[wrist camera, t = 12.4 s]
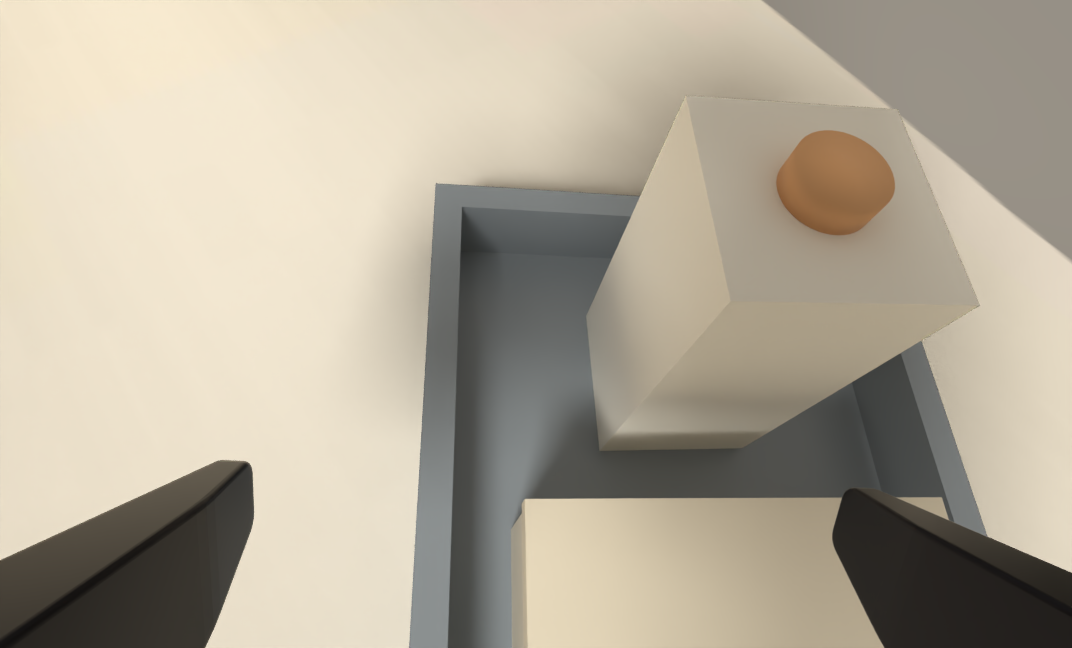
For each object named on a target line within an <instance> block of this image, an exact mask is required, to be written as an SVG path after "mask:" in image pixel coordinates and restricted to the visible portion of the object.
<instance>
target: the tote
mask: <svg viewBox="0 0 1072 648" xmlns="http://www.w3.org/2000/svg"><path fill="white" fill-rule="evenodd" d="M639 198H640V196H629V195H613V194H597V193H581V192H565V191H549V190H533V189H517V188H501V187H485V186H469V185H453V184H437V183H436V188H435V205H434V223H433V240H432V258H431V275H430V293H429V310H428V327H427V345H426V362H425V380H424V397H423V415H422V432H421V450H420V467H419V485H418V502H417V520H416V537H415V555H414V572H413V590H412V607H411V625H410V642H409V648H512V587H511V529H512V527H513V526H514V524H515V523H516V521H517V520H518V518H519V517H520V515H521V514H522V503H523V501H524V500H525V499H620V498H842V496H843V494H844V492H845V491H846V490H847V489H849V488H853V487H858V488H874V489H877V490H880V491H882V492H884V493H887V494H889V495H891V496H894V497H942V500H943V503H944V506H945V509H946V512H947V515H948V519H949V520H950V521H952V522H954V523H957V524H959V525H961V526H964V527H966V528H968V529H971V530H973V531H975V532H978V533H980V534H982V535H985V536H987V534H986V531H985V528H984V525H983V522H982V519H981V516H980V513H979V510H978V507H977V504H976V501H975V498H974V495H973V493H972V490H971V487H970V484H969V481H968V478H967V475H966V472H965V469H964V466H963V463H962V460H961V457H960V454H959V451H958V448H957V445H956V442H955V439H954V436H953V433H952V430H951V427H950V424H949V421H948V418H947V415H946V412H945V410H944V407H943V404H942V401H941V398H940V395H939V392H938V389H937V386H936V383H935V380H934V377H933V374H932V371H931V368H930V365H929V362H928V359H927V356H926V353H925V350H924V347H923V344H922V341H920V342H918V343H917V344H915V345H913V346H912V347H910V348H908V349H907V350H905V351H903V352H902V353H900V354H898V355H897V356H895V357H893V358H892V359H890V360H888V361H887V362H885V363H883V364H882V365H880V366H878V367H877V368H875V369H873V370H872V371H870V372H868V373H867V374H865V375H863V376H862V377H860V378H858V379H857V380H855V381H853V382H852V383H850V384H848V385H847V386H845V387H843V388H842V389H840V390H838V391H837V392H835V393H833V394H832V395H830V396H828V397H827V398H825V399H823V400H822V401H820V402H818V403H817V404H815V405H813V406H812V407H810V408H808V409H807V410H805V411H803V412H802V413H800V414H798V415H797V416H795V417H793V418H792V419H790V420H788V421H787V422H785V423H783V424H782V425H780V426H778V427H777V428H775V429H773V430H772V431H770V432H768V433H767V434H765V435H763V436H762V437H760V438H758V439H757V440H755V441H753V442H752V443H750V444H748V445H747V446H745V447H743V448H728V449H675V450H622V451H599V441H598V431H597V421H596V411H595V400H594V390H593V380H592V370H591V360H590V350H589V340H588V330H587V320H586V315H587V313H588V311H589V309H590V306H591V304H592V302H593V300H594V298H595V295H596V293H597V291H598V289H599V287H600V284H601V282H602V280H603V278H604V275H605V273H606V271H607V269H608V267H609V264H610V262H611V260H612V258H613V255H614V253H615V251H616V249H617V247H618V244H619V242H620V240H621V238H622V235H623V233H624V231H625V229H626V227H627V224H628V222H629V220H630V218H631V216H632V213H633V211H634V209H635V207H636V204H637V202H638V200H639Z"/></svg>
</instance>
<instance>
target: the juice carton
mask: <svg viewBox="0 0 1072 648" xmlns="http://www.w3.org/2000/svg"><path fill="white" fill-rule="evenodd" d="M978 306H980V304H979V302H978V299H977V297H976V295H975V292H974V290H973V288H972V285H971V283H970V280H969V278H968V276H967V273H966V271H965V268H964V266H963V264H962V261H961V259H960V257H959V254H958V252H957V249H956V247H955V245H954V242H953V240H952V238H951V235H950V233H949V230H948V228H947V226H946V223H945V221H944V219H943V216H942V214H941V211H940V209H939V207H938V204H937V202H936V199H935V197H934V195H933V192H932V190H931V188H930V185H929V183H928V180H927V178H926V176H925V173H924V171H923V169H922V166H921V164H920V161H919V159H918V157H917V154H916V152H915V150H914V147H913V145H912V142H911V140H910V138H909V135H908V133H907V131H906V128H905V126H904V123H903V121H902V119H901V116H900V114H899V111H898V109H885V108H870V107H855V106H840V105H825V104H810V103H795V102H780V101H765V100H750V99H735V98H720V97H705V96H690V95H686V96H685V98H684V100H683V102H682V105H681V107H680V109H679V111H678V114H677V116H676V118H675V120H674V122H673V125H672V127H671V129H670V131H669V133H668V136H667V138H666V140H665V142H664V145H663V147H662V149H661V151H660V153H659V156H658V158H657V160H656V162H655V165H654V167H653V169H652V171H651V173H650V176H649V178H648V180H647V182H646V184H645V187H644V189H643V191H642V193H641V196H640V198H639V200H638V202H637V204H636V207H635V209H634V211H633V213H632V216H631V218H630V220H629V222H628V224H627V227H626V229H625V231H624V233H623V235H622V238H621V240H620V242H619V244H618V247H617V249H616V251H615V253H614V255H613V258H612V260H611V262H610V264H609V267H608V269H607V271H606V273H605V275H604V278H603V280H602V282H601V284H600V287H599V289H598V291H597V293H596V295H595V298H594V300H593V302H592V304H591V306H590V309H589V311H588V313H587V315H586V320H587V330H588V340H589V350H590V360H591V370H592V380H593V390H594V400H595V411H596V421H597V431H598V441H599V451H622V450H675V449H728V448H743V447H745V446H747V445H748V444H750V443H752V442H753V441H755V440H757V439H758V438H760V437H762V436H763V435H765V434H767V433H768V432H770V431H772V430H773V429H775V428H777V427H778V426H780V425H782V424H783V423H785V422H787V421H788V420H790V419H792V418H793V417H795V416H797V415H798V414H800V413H802V412H803V411H805V410H807V409H808V408H810V407H812V406H813V405H815V404H817V403H818V402H820V401H822V400H823V399H825V398H827V397H828V396H830V395H832V394H833V393H835V392H837V391H838V390H840V389H842V388H843V387H845V386H847V385H848V384H850V383H852V382H853V381H855V380H857V379H858V378H860V377H862V376H863V375H865V374H867V373H868V372H870V371H872V370H873V369H875V368H877V367H878V366H880V365H882V364H883V363H885V362H887V361H888V360H890V359H892V358H893V357H895V356H897V355H898V354H900V353H902V352H903V351H905V350H907V349H908V348H910V347H912V346H913V345H915V344H917V343H918V342H920V341H922V340H923V339H925V338H927V337H928V336H930V335H932V334H933V333H935V332H937V331H938V330H940V329H942V328H943V327H945V326H947V325H948V324H950V323H952V322H953V321H955V320H957V319H958V318H960V317H962V316H963V315H965V314H967V313H968V312H970V311H972V310H973V309H975V308H977V307H978Z"/></svg>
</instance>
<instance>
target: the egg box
mask: <svg viewBox="0 0 1072 648" xmlns="http://www.w3.org/2000/svg"><path fill="white" fill-rule="evenodd" d="M896 498H898V499H901V500H903V501H905V502H908V503H910V504H912V505H915V506H917V507H919V508H922V509H924V510H926V511H929V512H931V513H933V514H936V515H938V516H940V517H943V518H945V519H947V520H949V519H948V515H947V512H946V509H945V506H944V503H943V500H942V497H896ZM841 499H842V498H620V499H525V500H524V501H523V503H522V514H521V515H520V517H519V518H518V520H517V521H516V523H515V524H514V526H513V527H512V529H511V587H512V648H884V647H883V645H882V643H881V641H880V640H879V638H878V636H877V634H876V632H875V630H874V628H873V626H872V624H871V622H870V620H869V618H868V616H867V614H866V612H865V610H864V608H863V606H862V604H861V602H860V600H859V598H858V596H857V594H856V592H855V590H854V588H853V586H852V584H851V582H850V580H849V578H848V575H847V573H846V571H845V569H844V567H843V565H842V563H841V561H840V559H839V557H838V555H837V553H836V551H835V549H834V546H833V541H832V532H833V527H834V524H835V520H836V517H837V513H838V510H839V506H840V503H841Z"/></svg>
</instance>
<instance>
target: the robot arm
mask: <svg viewBox="0 0 1072 648" xmlns="http://www.w3.org/2000/svg"><path fill="white" fill-rule="evenodd" d="M253 519H254V497H253V473H252V468H251V465H250V464H249V463H248V462H245V461H231V460H220V461H216V462H214V463H212V464H210V465H207V466H205V467H203V468H201V469H199V470H197V471H194V472H192V473H190V474H188V475H186V476H183V477H181V478H179V479H177V480H175V481H173V482H170V483H168V484H166V485H164V486H162V487H159V488H157V489H155V490H153V491H151V492H148V493H146V494H144V495H142V496H140V497H138V498H135V499H133V500H131V501H129V502H127V503H124V504H122V505H120V506H118V507H116V508H114V509H111V510H109V511H107V512H105V513H103V514H100V515H98V516H96V517H94V518H92V519H89V520H87V521H85V522H83V523H81V524H79V525H76V526H74V527H72V528H70V529H68V530H65V531H63V532H61V533H59V534H57V535H55V536H52V537H50V538H48V539H46V540H44V541H41V542H39V543H37V544H35V545H33V546H30V547H28V548H26V549H24V550H22V551H20V552H17V553H15V554H13V555H11V556H9V557H6V558H4V559H2V560H0V648H205V647H206V645H207V643H208V640H209V638H210V636H211V634H212V632H213V630H214V628H215V625H216V623H217V620H218V618H219V615H220V613H221V610H222V607H223V604H224V602H225V599H226V596H227V594H228V591H229V588H230V586H231V583H232V580H233V578H234V575H235V572H236V569H237V567H238V564H239V561H240V559H241V556H242V553H243V551H244V548H245V545H246V543H247V540H248V537H249V534H250V532H251V529H252V525H253ZM832 541H833V546H834V549H835V551H836V553H837V555H838V557H839V559H840V561H841V563H842V565H843V567H844V569H845V571H846V573H847V575H848V578H849V580H850V582H851V584H852V586H853V588H854V590H855V592H856V594H857V596H858V598H859V600H860V602H861V604H862V606H863V608H864V610H865V612H866V614H867V616H868V618H869V620H870V622H871V624H872V626H873V628H874V630H875V632H876V634H877V636H878V638H879V640H880V641H881V643H882V645H883V647H884V648H1072V573H1071V572H1068V571H1066V570H1064V569H1061V568H1059V567H1057V566H1054V565H1052V564H1050V563H1047V562H1045V561H1043V560H1040V559H1038V558H1036V557H1033V556H1031V555H1029V554H1026V553H1024V552H1022V551H1019V550H1017V549H1015V548H1012V547H1010V546H1008V545H1006V544H1003V543H1001V542H999V541H996V540H994V539H992V538H989V537H987V536H985V535H982V534H980V533H978V532H975V531H973V530H971V529H968V528H966V527H964V526H961V525H959V524H957V523H954V522H952V521H950V520H947V519H945V518H943V517H940V516H938V515H936V514H933V513H931V512H929V511H926V510H924V509H922V508H919V507H917V506H915V505H912V504H910V503H908V502H905V501H903V500H901V499H898V498H896V497H894V496H891V495H889V494H887V493H884V492H882V491H880V490H877V489H874V488H858V487H853V488H849V489H847V490H846V491H845V492H844V494H843V496H842V499H841V503H840V506H839V510H838V513H837V517H836V520H835V524H834V527H833V532H832Z"/></svg>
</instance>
